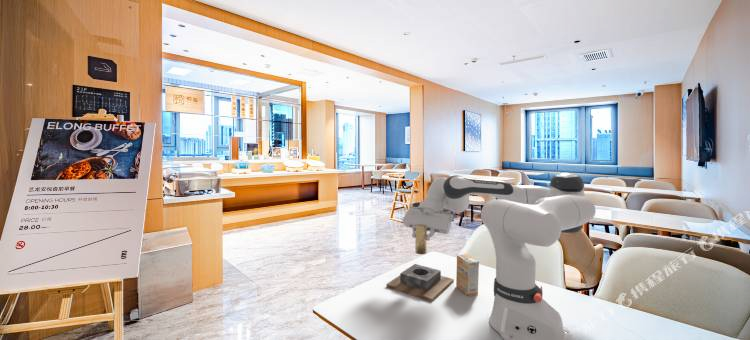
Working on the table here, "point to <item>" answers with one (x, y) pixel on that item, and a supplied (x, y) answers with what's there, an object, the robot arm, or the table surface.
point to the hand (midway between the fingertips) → (420, 238)
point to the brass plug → (420, 239)
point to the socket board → (421, 292)
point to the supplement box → (467, 274)
